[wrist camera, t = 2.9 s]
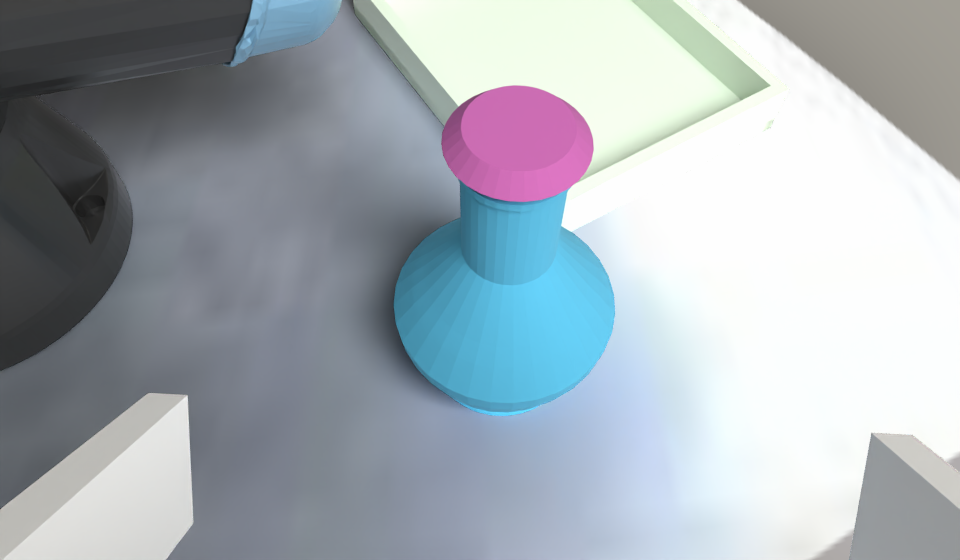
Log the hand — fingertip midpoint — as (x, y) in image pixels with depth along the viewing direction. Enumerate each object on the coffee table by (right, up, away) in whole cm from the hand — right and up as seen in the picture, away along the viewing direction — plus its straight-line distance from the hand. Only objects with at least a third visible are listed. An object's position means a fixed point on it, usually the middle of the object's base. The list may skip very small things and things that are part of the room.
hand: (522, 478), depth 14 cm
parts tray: (+4, +17, +30) cm, 35 cm away
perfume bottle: (0, 0, +21) cm, 21 cm away
